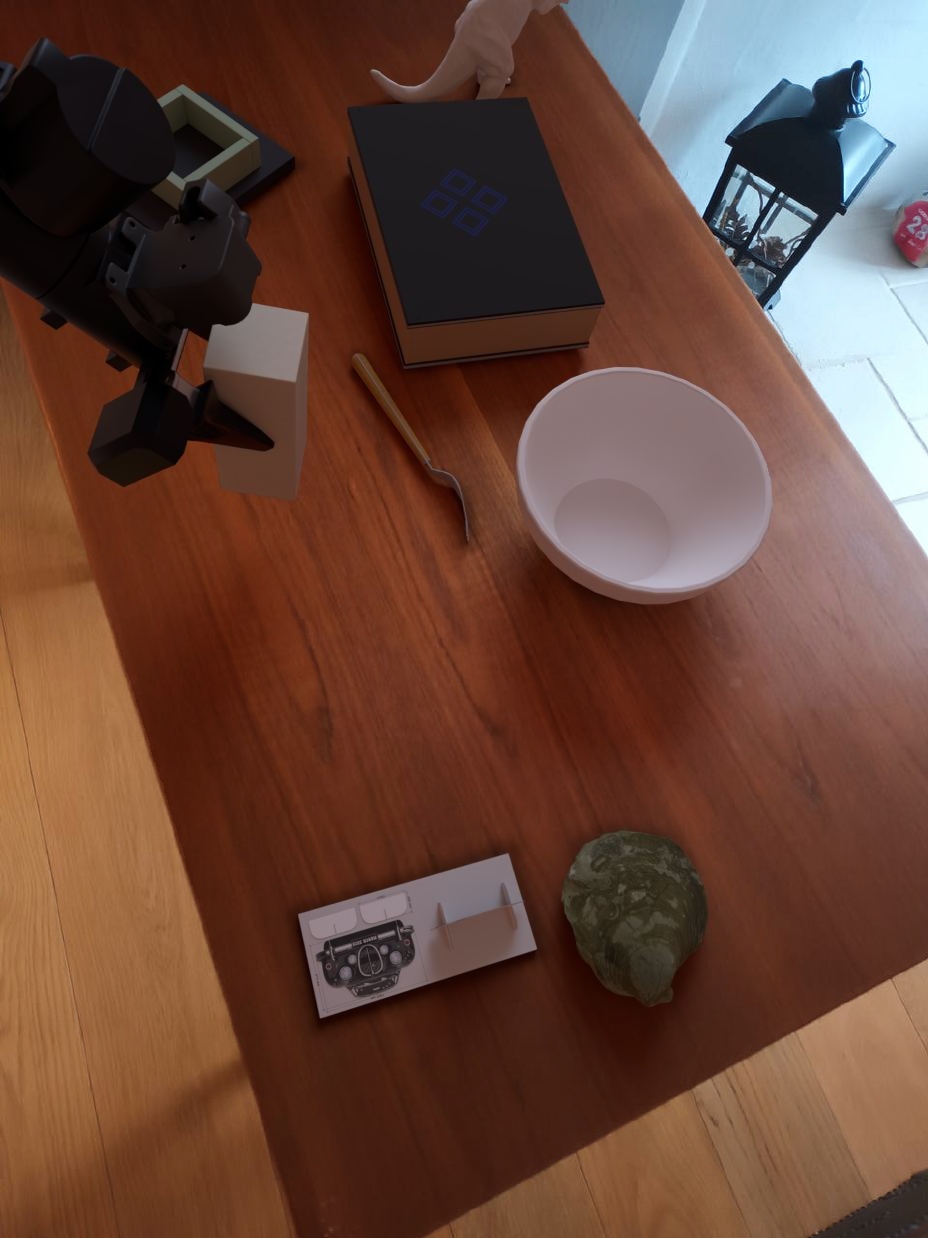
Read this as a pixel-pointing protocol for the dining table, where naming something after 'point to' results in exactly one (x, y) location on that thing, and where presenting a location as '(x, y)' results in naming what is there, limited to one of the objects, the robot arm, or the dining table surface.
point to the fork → (400, 421)
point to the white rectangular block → (263, 397)
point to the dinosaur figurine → (475, 51)
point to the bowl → (641, 485)
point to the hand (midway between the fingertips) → (278, 412)
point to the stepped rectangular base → (210, 156)
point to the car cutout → (415, 934)
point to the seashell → (635, 912)
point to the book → (470, 231)
